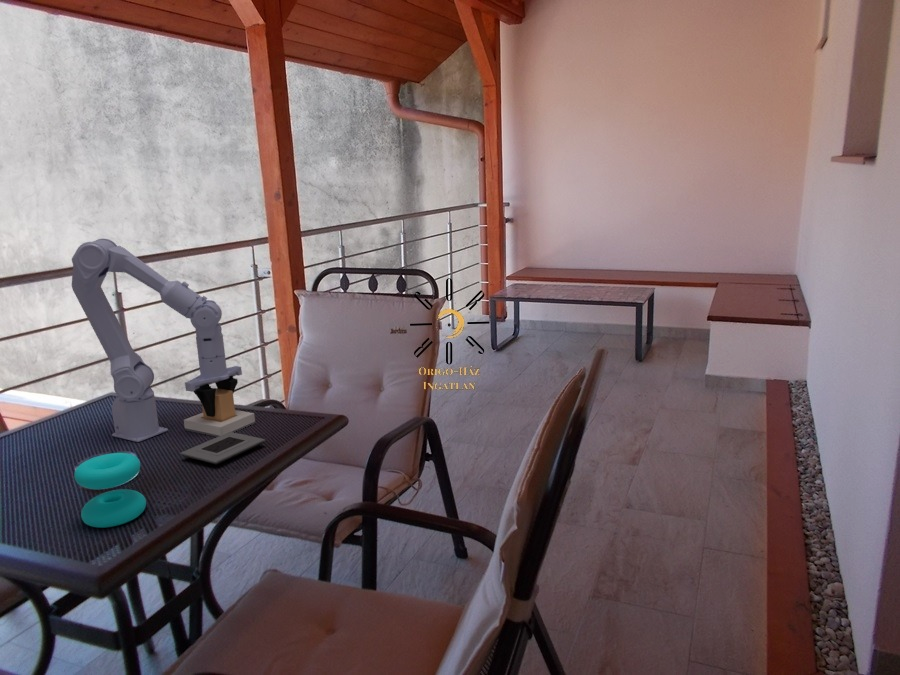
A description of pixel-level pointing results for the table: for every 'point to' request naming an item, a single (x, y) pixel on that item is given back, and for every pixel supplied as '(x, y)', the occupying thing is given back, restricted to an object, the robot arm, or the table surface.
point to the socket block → (219, 424)
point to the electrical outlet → (222, 447)
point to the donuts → (114, 503)
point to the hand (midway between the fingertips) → (218, 412)
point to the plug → (222, 406)
